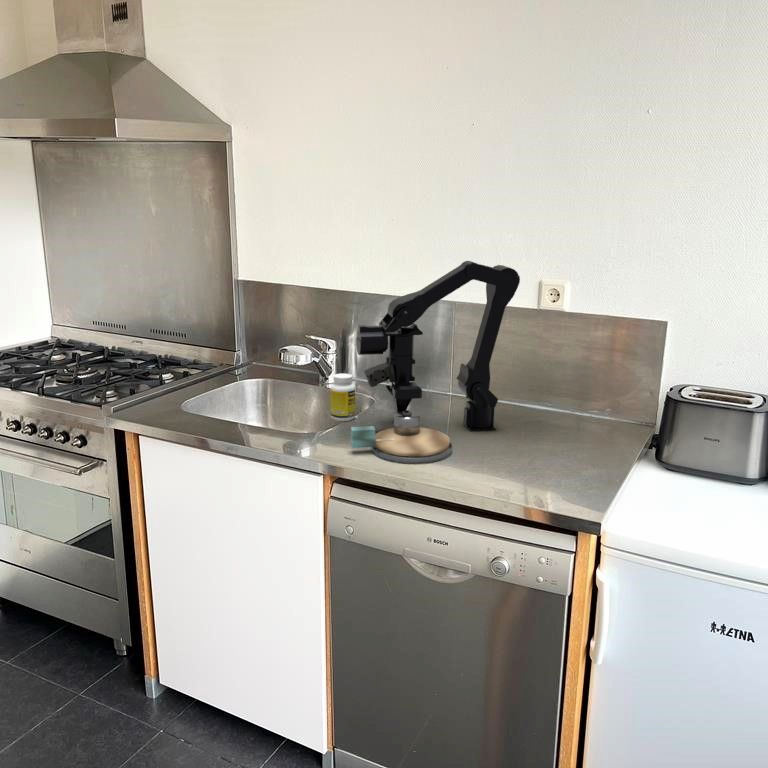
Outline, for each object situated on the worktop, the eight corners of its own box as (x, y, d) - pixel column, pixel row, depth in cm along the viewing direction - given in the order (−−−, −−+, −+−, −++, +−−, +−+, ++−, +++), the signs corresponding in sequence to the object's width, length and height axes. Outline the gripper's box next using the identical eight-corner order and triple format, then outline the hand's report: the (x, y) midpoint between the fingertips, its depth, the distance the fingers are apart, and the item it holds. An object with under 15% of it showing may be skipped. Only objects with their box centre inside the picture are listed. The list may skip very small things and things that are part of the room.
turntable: (438, 429, 180) (439, 413, 179) (458, 454, 164) (459, 436, 163) (346, 433, 176) (346, 417, 175) (357, 459, 160) (357, 441, 159)
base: (439, 434, 181) (440, 429, 181) (461, 461, 164) (461, 456, 164) (365, 438, 178) (365, 433, 177) (379, 466, 161) (379, 460, 160)
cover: (416, 427, 178) (417, 407, 177) (422, 435, 173) (423, 415, 171) (391, 428, 177) (391, 408, 176) (396, 436, 172) (397, 416, 170)
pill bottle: (351, 422, 189) (352, 379, 186) (327, 420, 190) (327, 377, 187) (357, 415, 195) (357, 373, 192) (334, 413, 196) (334, 371, 193)
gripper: (360, 345, 185) (360, 407, 189) (373, 364, 168) (373, 431, 172) (405, 344, 187) (404, 405, 191) (423, 362, 170) (421, 429, 174)
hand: (400, 417), depth 182 cm, fingers closed
